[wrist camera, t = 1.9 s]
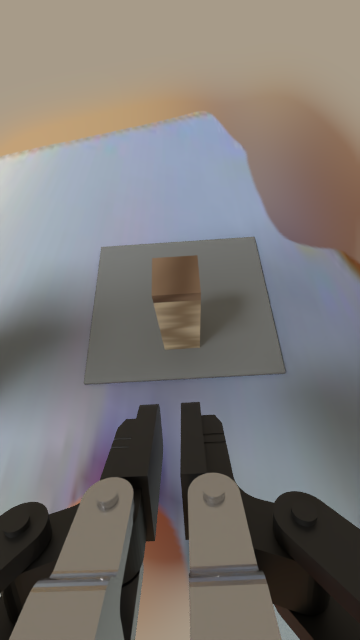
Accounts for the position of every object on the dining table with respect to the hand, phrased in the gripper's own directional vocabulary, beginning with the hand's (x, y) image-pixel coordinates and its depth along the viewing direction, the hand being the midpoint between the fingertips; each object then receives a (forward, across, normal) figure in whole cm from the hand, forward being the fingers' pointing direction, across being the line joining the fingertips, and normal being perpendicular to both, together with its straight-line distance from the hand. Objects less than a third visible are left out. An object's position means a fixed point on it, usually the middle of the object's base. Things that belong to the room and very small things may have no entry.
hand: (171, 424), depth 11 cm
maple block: (+26, 0, +5) cm, 26 cm away
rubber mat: (+30, 0, +1) cm, 30 cm away
